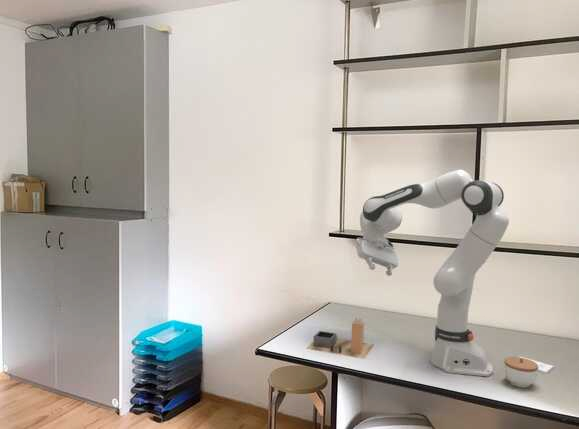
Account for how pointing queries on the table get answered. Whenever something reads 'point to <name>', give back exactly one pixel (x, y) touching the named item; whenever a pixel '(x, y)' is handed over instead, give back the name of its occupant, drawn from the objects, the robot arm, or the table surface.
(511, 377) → the lidded jar
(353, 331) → the tan tall block
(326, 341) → the end holder
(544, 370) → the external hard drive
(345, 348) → the cable board
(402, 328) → the table surface
